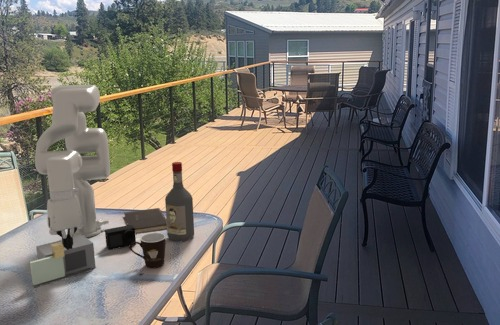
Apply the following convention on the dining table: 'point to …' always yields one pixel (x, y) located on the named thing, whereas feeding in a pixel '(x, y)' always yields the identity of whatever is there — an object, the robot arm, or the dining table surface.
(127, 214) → the hardcover book
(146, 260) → the coffee mug
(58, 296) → the dining table surface
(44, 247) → the box
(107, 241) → the digital camera
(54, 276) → the side door
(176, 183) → the liquor
